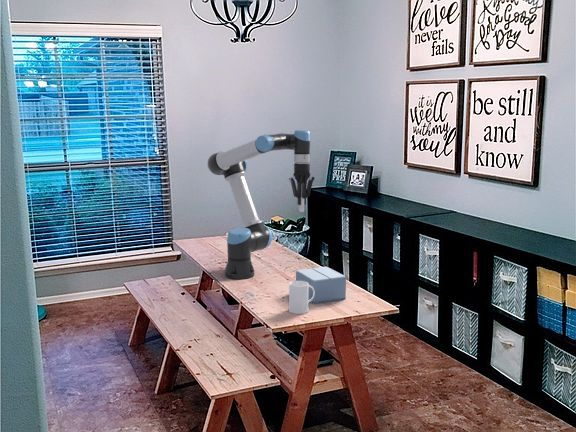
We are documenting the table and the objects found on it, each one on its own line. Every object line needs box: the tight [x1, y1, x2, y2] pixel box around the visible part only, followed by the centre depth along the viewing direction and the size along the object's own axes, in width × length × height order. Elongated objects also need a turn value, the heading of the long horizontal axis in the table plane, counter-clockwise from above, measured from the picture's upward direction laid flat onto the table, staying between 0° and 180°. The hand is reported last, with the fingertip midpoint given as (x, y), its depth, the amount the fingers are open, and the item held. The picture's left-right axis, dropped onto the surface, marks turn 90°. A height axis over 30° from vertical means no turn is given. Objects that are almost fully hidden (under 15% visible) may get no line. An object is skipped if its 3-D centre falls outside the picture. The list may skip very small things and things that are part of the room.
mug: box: [288, 280, 315, 315], centre depth 255 cm, size 12×8×12 cm
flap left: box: [296, 268, 329, 282], centre depth 271 cm, size 7×18×1 cm, turn 25°
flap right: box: [311, 266, 346, 279], centre depth 274 cm, size 7×18×1 cm, turn 25°
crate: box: [295, 270, 347, 305], centre depth 274 cm, size 16×18×10 cm
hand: (301, 211), depth 293 cm, fingers closed
